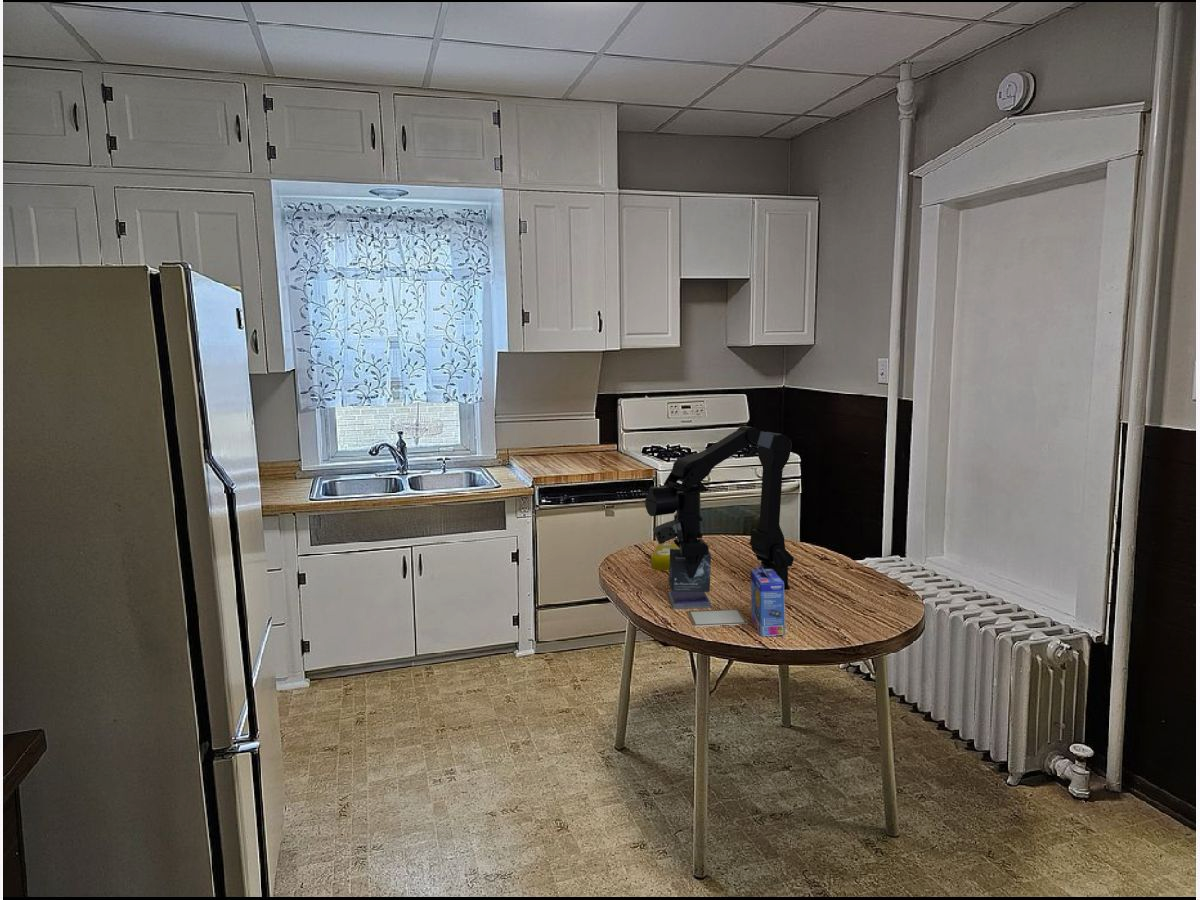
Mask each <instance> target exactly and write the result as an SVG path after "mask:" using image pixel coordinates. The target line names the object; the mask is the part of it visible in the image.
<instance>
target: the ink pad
mask: <svg viewBox="0 0 1200 900" xmlns="http://www.w3.org/2000/svg"><path fill="white" fill-rule="evenodd" d="M667 593H668V594H667V597H668V599H669V601H670V604H671V606H672V609H673V610H690V609H691V610H694V609H711V608H712V602H711V600H710V598H709V597H708V595H707V592H672V590H670V591H668V592H667Z"/></svg>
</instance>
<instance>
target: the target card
mask: <svg viewBox="0 0 1200 900" xmlns="http://www.w3.org/2000/svg"><path fill="white" fill-rule="evenodd" d="M687 614H688V617H689V618H690V621H691V623H692V626H693V627H694V628H701V627H702V628H703V627H722V625H729V626H740V625H739V624H748V621H747V620H746V618H745V617H744V616H743V614H742V612H741V611H740V609H739V608H730V609H729V608H728V609H727V608H726V609H724V608H723V609H704V610H701V609H700V610H699V609H697V610H687ZM720 625H721V626H720Z"/></svg>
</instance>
